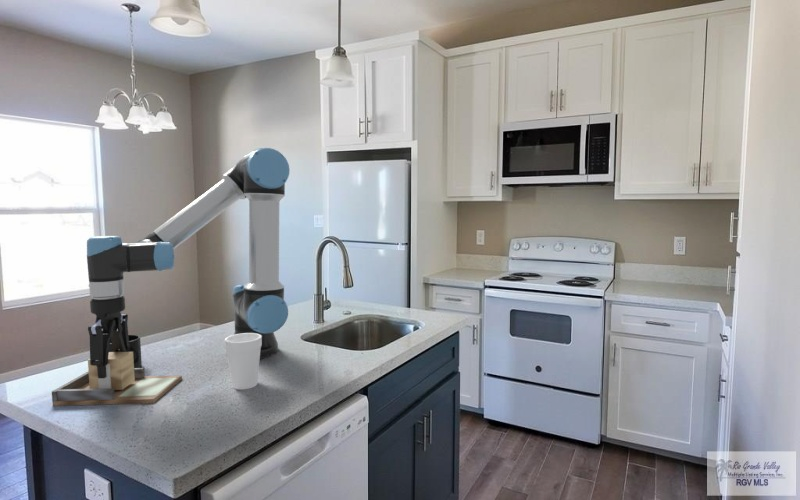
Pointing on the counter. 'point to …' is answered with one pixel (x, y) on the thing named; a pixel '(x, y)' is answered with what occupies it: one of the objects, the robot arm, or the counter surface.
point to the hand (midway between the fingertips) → (112, 384)
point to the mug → (133, 349)
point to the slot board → (114, 391)
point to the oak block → (115, 370)
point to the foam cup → (243, 359)
